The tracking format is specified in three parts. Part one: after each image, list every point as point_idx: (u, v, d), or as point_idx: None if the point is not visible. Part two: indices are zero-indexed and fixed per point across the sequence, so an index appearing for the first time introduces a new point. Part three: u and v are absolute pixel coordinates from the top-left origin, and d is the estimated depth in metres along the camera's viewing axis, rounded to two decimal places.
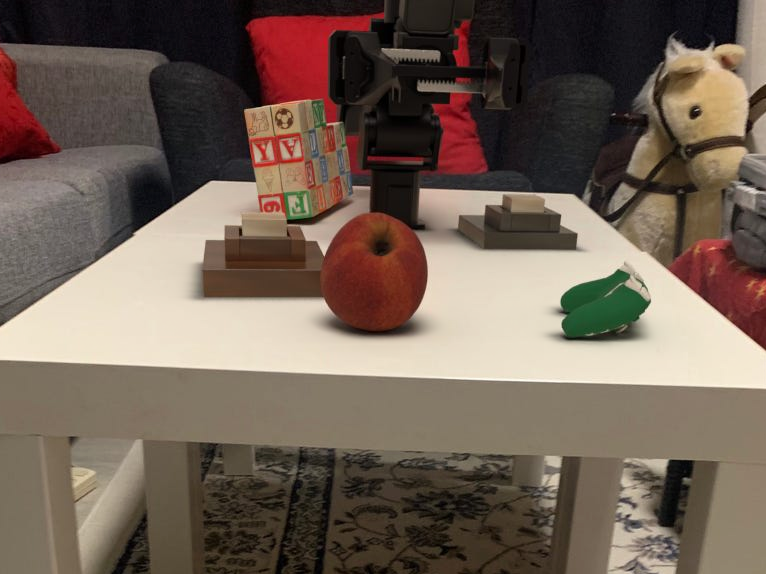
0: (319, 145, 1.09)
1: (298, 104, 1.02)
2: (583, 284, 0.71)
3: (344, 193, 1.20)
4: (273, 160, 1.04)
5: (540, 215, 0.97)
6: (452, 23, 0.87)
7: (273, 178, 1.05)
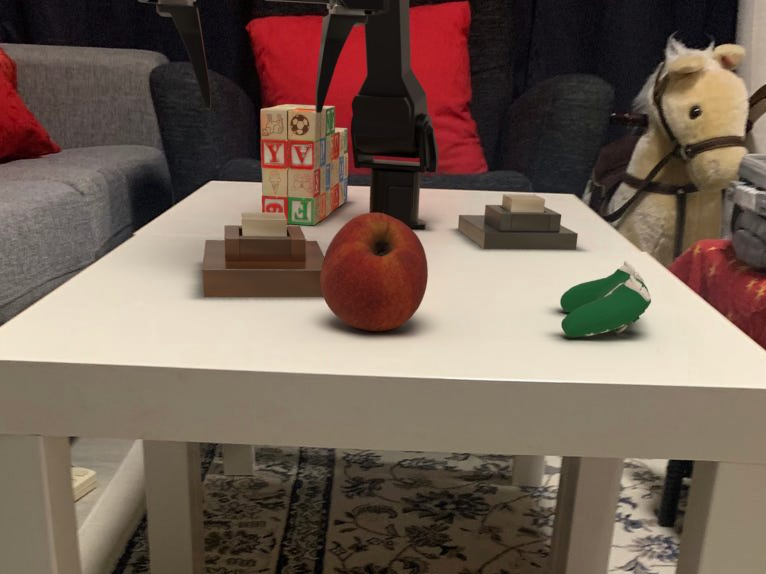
0: (327, 153, 1.10)
1: (316, 113, 1.02)
2: (583, 284, 0.71)
3: (340, 200, 1.21)
4: (283, 163, 1.04)
5: (540, 215, 0.97)
6: None
7: (280, 181, 1.05)
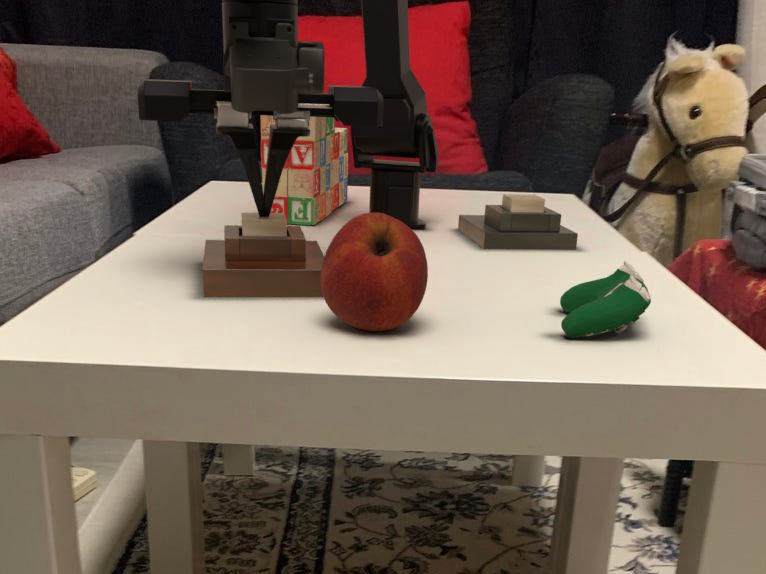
0: (327, 153, 1.10)
1: None
2: (583, 284, 0.71)
3: (340, 200, 1.21)
4: None
5: (540, 215, 0.97)
6: None
7: (280, 181, 1.05)
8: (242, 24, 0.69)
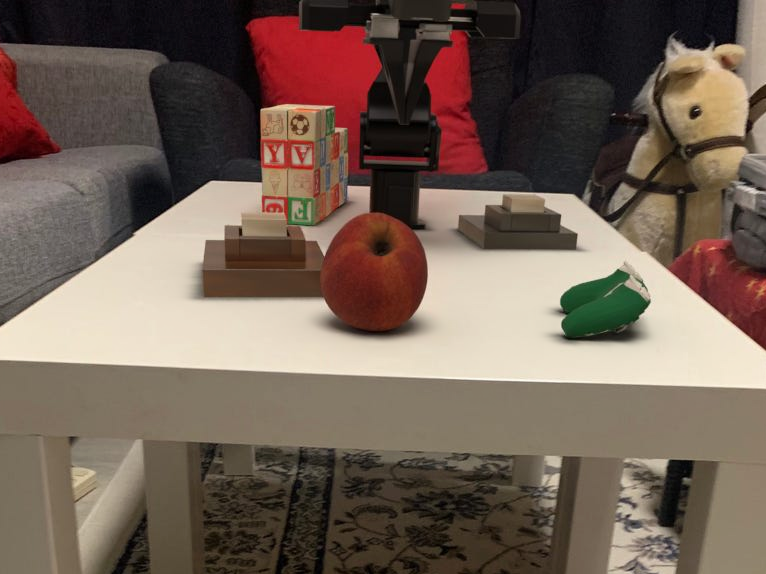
0: (327, 153, 1.10)
1: (316, 113, 1.02)
2: (583, 284, 0.71)
3: (340, 200, 1.21)
4: (283, 163, 1.04)
5: (540, 215, 0.97)
6: None
7: (280, 181, 1.05)
8: None
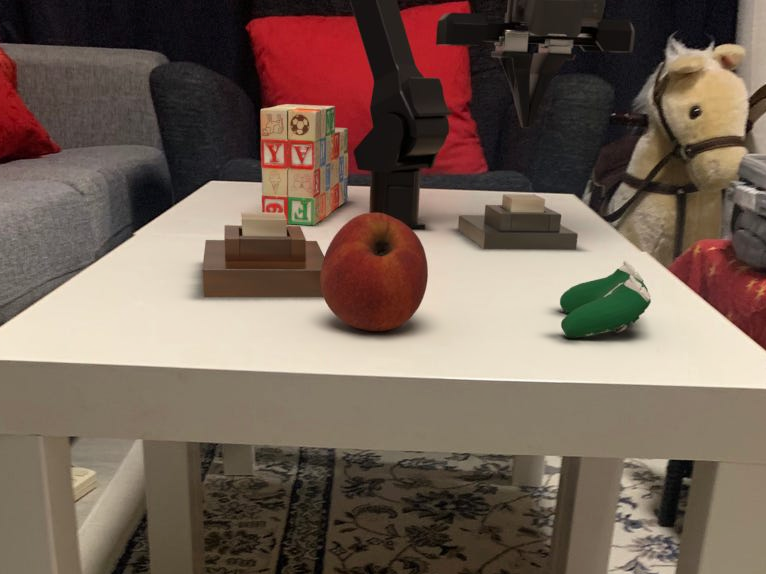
0: (327, 153, 1.10)
1: (316, 113, 1.02)
2: (583, 284, 0.71)
3: (340, 200, 1.21)
4: (283, 163, 1.04)
5: (540, 215, 0.97)
6: None
7: (280, 181, 1.05)
8: None
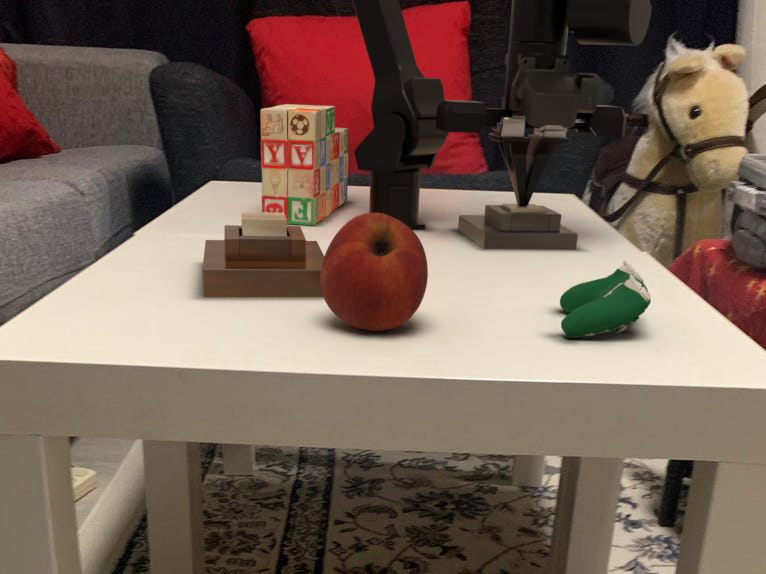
0: (327, 153, 1.10)
1: (316, 113, 1.02)
2: (582, 284, 0.71)
3: (340, 200, 1.21)
4: (283, 163, 1.04)
5: (540, 215, 0.97)
6: None
7: (280, 181, 1.05)
8: (531, 59, 0.91)
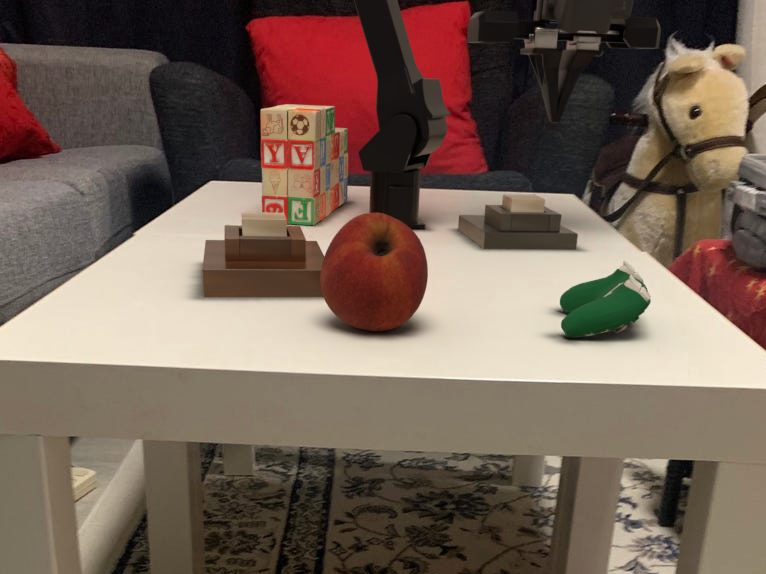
0: (327, 153, 1.10)
1: (316, 113, 1.02)
2: (582, 284, 0.71)
3: (340, 200, 1.21)
4: (283, 163, 1.04)
5: (540, 215, 0.97)
6: None
7: (280, 181, 1.05)
8: None
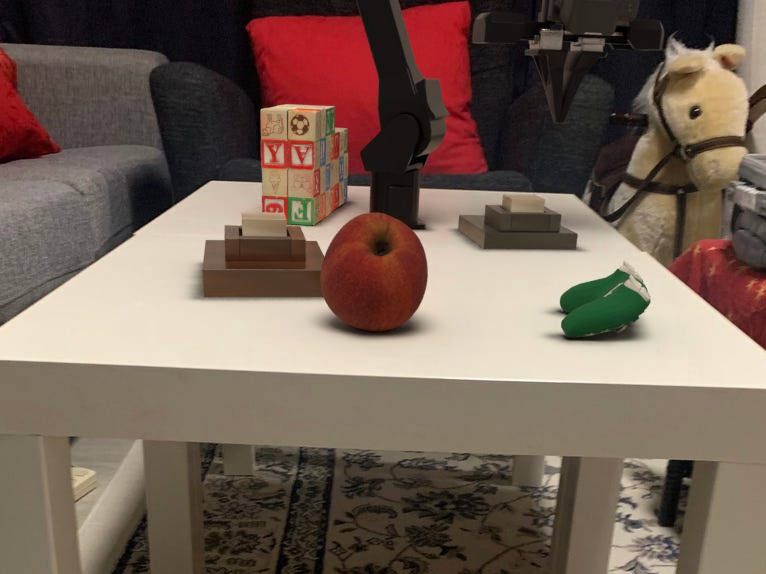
0: (327, 153, 1.10)
1: (316, 113, 1.02)
2: (582, 284, 0.71)
3: (340, 200, 1.21)
4: (283, 163, 1.04)
5: (540, 215, 0.97)
6: None
7: (280, 181, 1.05)
8: None
